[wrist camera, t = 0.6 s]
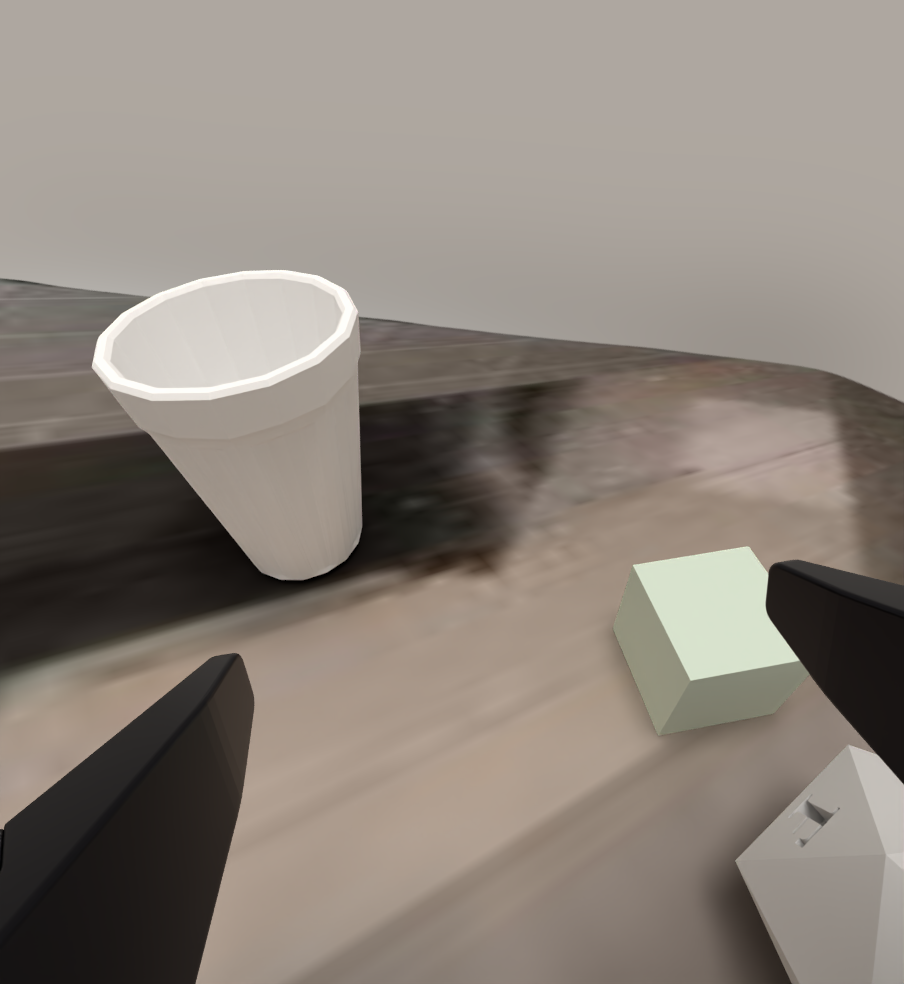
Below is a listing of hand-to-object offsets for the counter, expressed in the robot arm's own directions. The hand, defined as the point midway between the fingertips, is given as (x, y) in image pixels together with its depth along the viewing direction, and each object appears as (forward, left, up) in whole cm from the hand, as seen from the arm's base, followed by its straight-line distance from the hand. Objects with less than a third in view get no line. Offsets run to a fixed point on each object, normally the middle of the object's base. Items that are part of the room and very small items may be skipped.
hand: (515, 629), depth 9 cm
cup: (+16, +7, -15) cm, 23 cm away
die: (-5, -11, -15) cm, 19 cm away
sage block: (+5, -10, -15) cm, 18 cm away
